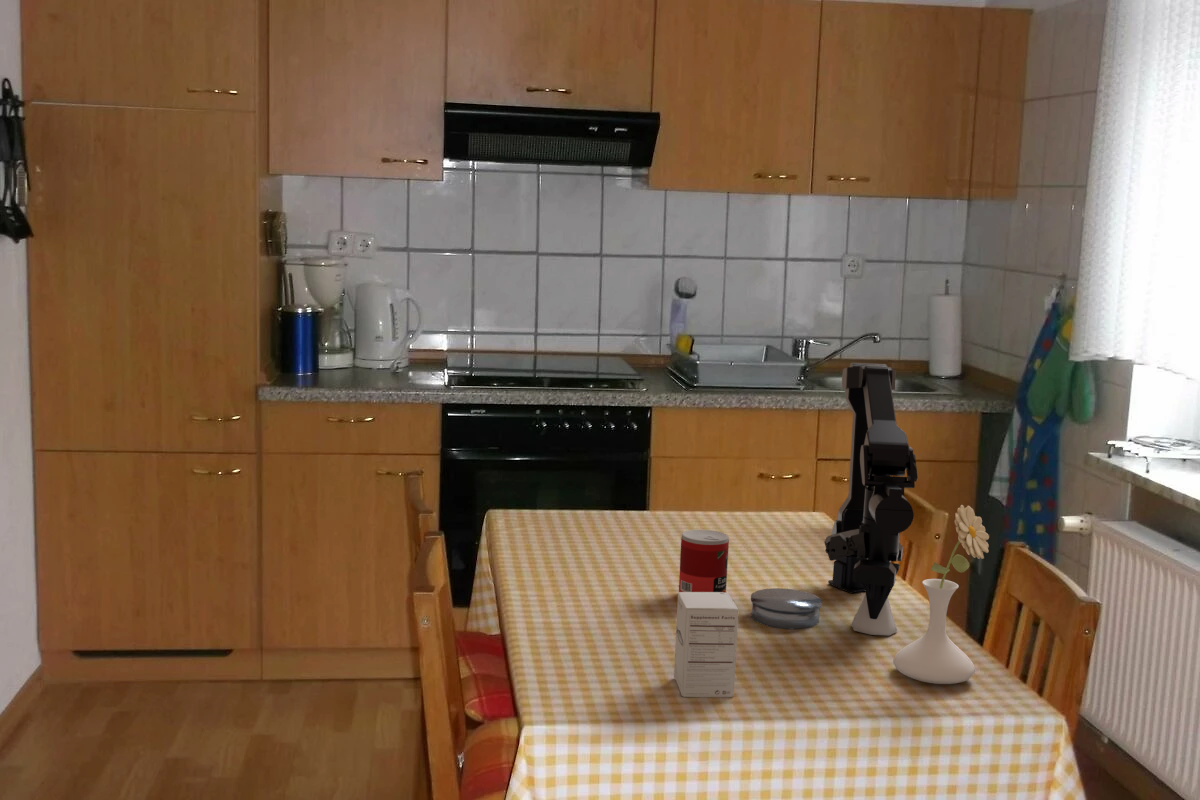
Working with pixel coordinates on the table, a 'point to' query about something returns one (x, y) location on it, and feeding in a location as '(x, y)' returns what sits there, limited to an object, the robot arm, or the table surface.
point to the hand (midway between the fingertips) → (874, 613)
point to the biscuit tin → (785, 608)
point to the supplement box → (706, 644)
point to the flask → (874, 620)
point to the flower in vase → (944, 614)
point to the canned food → (703, 561)
